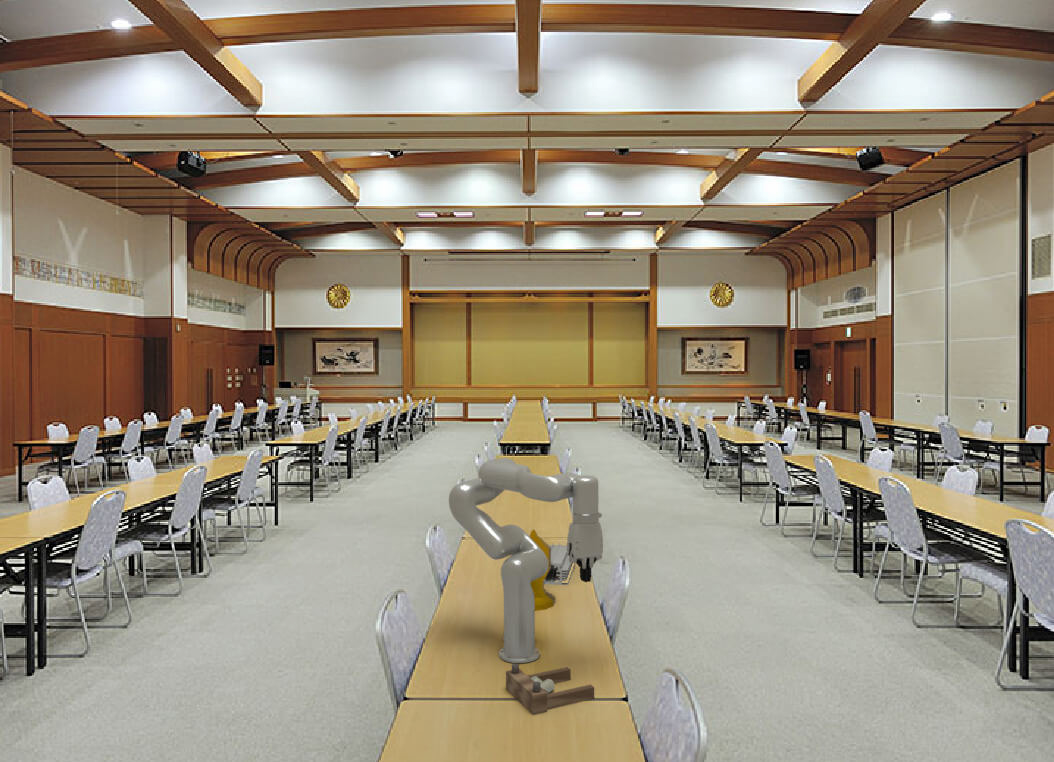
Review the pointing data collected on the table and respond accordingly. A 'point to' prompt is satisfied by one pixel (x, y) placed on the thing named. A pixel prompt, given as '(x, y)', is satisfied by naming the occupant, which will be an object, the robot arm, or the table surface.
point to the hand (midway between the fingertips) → (585, 580)
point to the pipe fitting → (545, 684)
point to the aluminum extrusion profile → (558, 566)
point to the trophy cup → (542, 578)
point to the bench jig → (538, 697)
